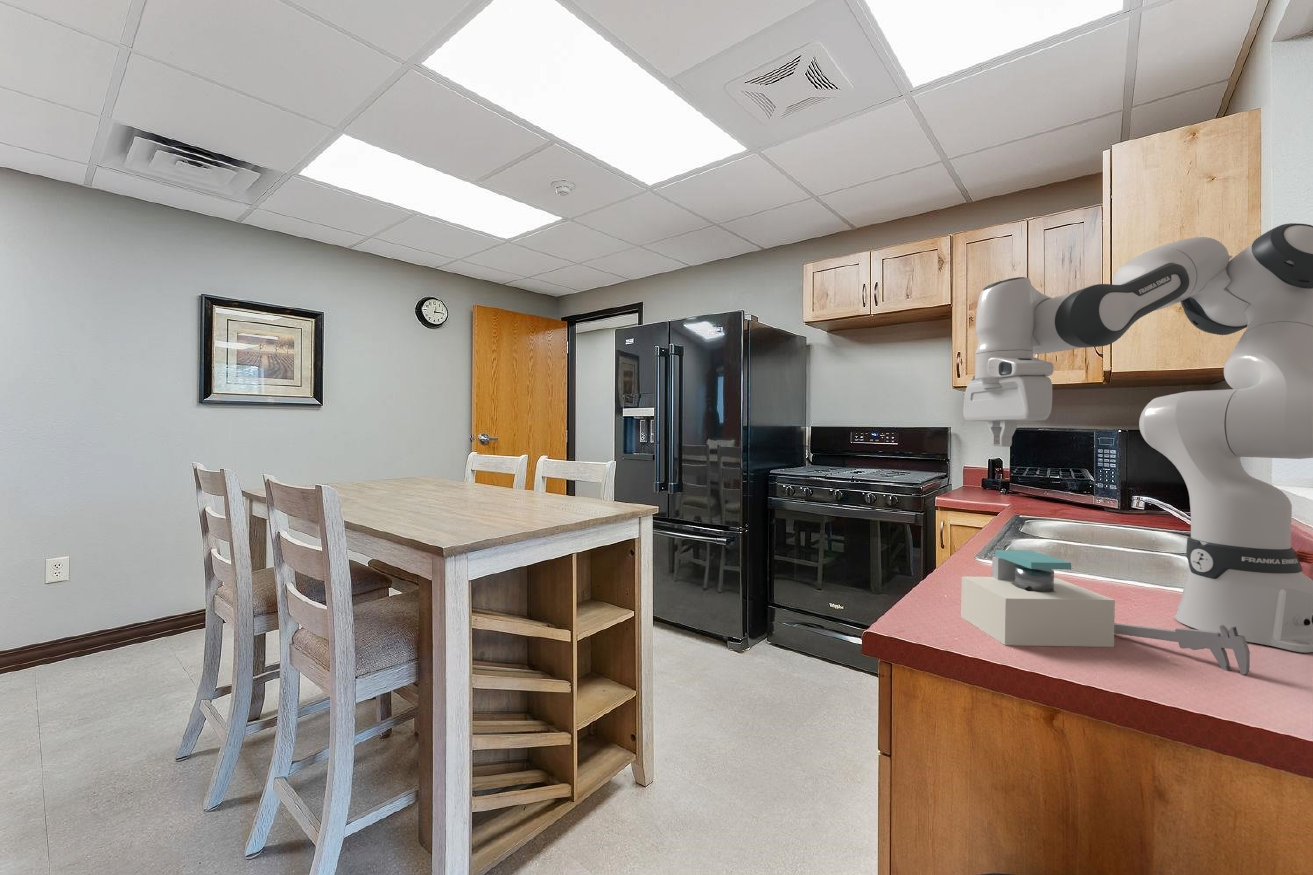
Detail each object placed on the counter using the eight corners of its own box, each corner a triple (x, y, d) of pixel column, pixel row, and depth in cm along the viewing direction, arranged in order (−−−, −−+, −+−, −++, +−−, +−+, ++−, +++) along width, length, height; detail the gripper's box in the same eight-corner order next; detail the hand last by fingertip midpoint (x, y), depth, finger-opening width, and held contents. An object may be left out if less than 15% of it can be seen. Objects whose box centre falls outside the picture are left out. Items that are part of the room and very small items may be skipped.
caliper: (1249, 676, 72) (1250, 629, 72) (1245, 678, 71) (1247, 630, 71) (1076, 625, 90) (1077, 587, 90) (1072, 626, 90) (1073, 588, 90)
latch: (1031, 556, 91) (1031, 550, 91) (1071, 569, 82) (1071, 562, 82) (995, 555, 92) (995, 550, 92) (1031, 568, 83) (1031, 562, 83)
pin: (1038, 622, 89) (1039, 564, 89) (1061, 634, 84) (1062, 573, 84) (1006, 621, 89) (1007, 564, 89) (1027, 633, 84) (1028, 572, 84)
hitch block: (1055, 618, 93) (1057, 557, 92) (1113, 646, 81) (1115, 576, 80) (961, 617, 93) (962, 555, 93) (1004, 645, 81) (1006, 574, 81)
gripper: (955, 375, 108) (953, 444, 109) (1021, 363, 88) (1020, 448, 88) (986, 375, 108) (985, 444, 108) (1061, 363, 88) (1059, 448, 88)
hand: (1001, 446), depth 98 cm, fingers closed
